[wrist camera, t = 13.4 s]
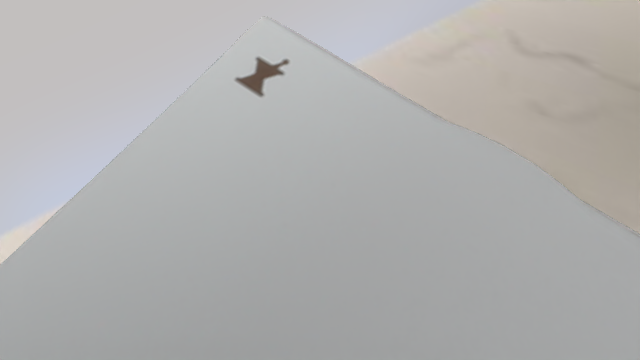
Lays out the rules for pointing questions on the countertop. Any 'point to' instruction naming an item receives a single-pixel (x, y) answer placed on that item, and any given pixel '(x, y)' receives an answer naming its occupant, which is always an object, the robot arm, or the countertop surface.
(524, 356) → the supplement box
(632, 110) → the countertop surface
